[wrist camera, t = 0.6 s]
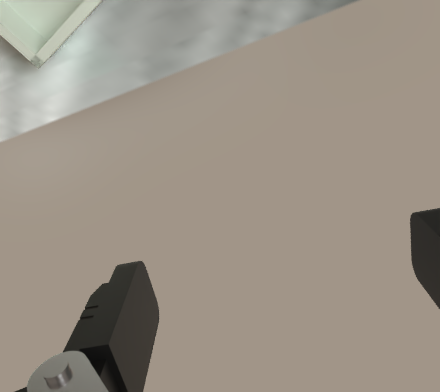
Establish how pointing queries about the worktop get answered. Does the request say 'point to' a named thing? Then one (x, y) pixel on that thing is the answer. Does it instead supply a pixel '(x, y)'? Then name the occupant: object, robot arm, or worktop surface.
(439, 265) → the robot arm
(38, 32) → the tray
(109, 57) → the worktop surface
